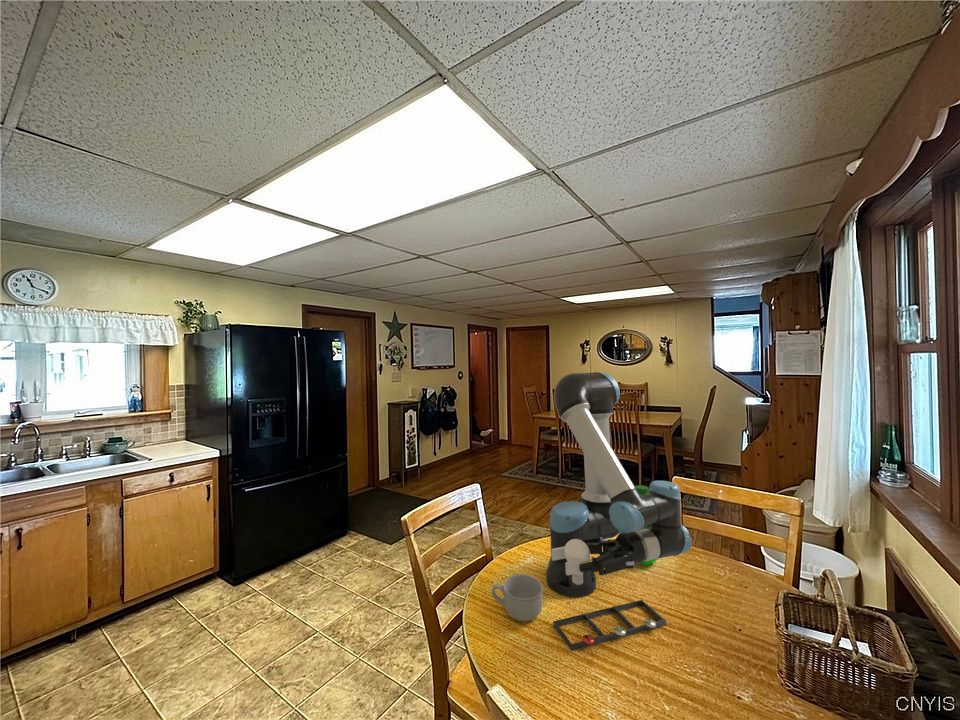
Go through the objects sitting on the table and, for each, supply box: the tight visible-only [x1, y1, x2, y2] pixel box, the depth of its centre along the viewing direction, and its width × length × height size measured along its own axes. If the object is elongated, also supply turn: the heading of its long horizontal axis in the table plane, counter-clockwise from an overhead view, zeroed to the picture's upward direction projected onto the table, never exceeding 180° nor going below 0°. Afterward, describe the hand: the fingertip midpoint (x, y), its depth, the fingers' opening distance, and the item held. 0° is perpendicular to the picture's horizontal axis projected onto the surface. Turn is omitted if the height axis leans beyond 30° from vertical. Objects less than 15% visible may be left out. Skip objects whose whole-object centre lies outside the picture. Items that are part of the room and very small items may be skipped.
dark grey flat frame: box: [552, 599, 667, 652], centre depth 97 cm, size 10×28×2 cm, turn 107°
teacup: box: [491, 573, 544, 622], centre depth 103 cm, size 14×11×8 cm
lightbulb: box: [564, 539, 591, 585], centre depth 95 cm, size 6×6×11 cm
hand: (559, 561), depth 93 cm, fingers closed on lightbulb, 6 cm apart
